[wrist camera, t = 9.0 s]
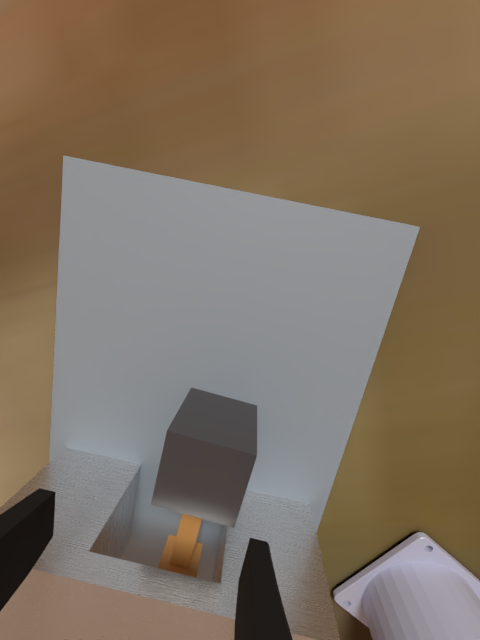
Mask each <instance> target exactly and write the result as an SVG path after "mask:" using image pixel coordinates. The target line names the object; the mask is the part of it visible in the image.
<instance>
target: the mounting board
mask: <svg viewBox="0 0 480 640" xmlns="http://www.w3.org/2000/svg"><path fill="white" fill-rule="evenodd" d="M419 228H420V227H418V226H413V225H408V224H403V223H398V222H393V221H388V220H383V219H378V218H373V217H368V216H363V215H358V214H353V213H348V212H343V211H338V210H333V209H328V208H323V207H318V206H313V205H308V204H303V203H298V202H293V201H288V200H283V199H278V198H273V197H268V196H263V195H258V194H253V193H248V192H243V191H238V190H233V189H228V188H223V187H218V186H213V185H208V184H203V183H198V182H193V181H188V180H183V179H178V178H173V177H168V176H163V175H158V174H153V173H148V172H143V171H138V170H133V169H128V168H123V167H118V166H113V165H108V164H103V163H98V162H93V161H88V160H83V159H78V158H73V157H68V156H64V157H63V179H62V200H61V222H60V243H59V265H58V286H57V307H56V329H55V350H54V372H53V393H52V414H51V436H50V457H49V462H50V461H51V460H53V459H54V458H55V457H56V456H57V455H58V454H59V453H60V452H61V451H62V450H63V449H64V448H66V447H67V448H71V449H76V450H80V451H84V452H89V453H93V454H97V455H101V456H106V457H110V458H114V459H119V460H123V461H127V462H131V463H136V464H140V465H141V466H140V473H139V480H138V488H137V495H136V502H135V509H134V516H133V524H132V531H131V537H130V540H129V542H128V544H127V546H126V548H125V550H124V552H123V554H122V556H121V559H122V560H126V561H130V562H134V563H138V564H142V565H146V566H150V567H155V568H158V566H159V563H160V560H161V557H162V554H163V551H164V548H165V545H166V542H167V539H168V536H169V535H173V536H177V532H178V528H179V524H180V520H181V516H182V513H180V512H176V511H173V510H169V509H165V508H162V507H158V506H155V505H151V501H152V496H153V492H154V487H155V483H156V478H157V474H158V469H159V464H160V460H161V455H162V451H163V446H164V442H165V437H166V433H167V430H168V428H169V426H170V424H171V423H172V421H173V419H174V417H175V415H176V414H177V412H178V410H179V408H180V407H181V405H182V403H183V401H184V400H185V398H186V396H187V394H188V392H189V391H190V389H191V388H195V389H199V390H202V391H206V392H210V393H213V394H217V395H221V396H224V397H228V398H232V399H235V400H239V401H243V402H246V403H250V404H254V405H257V457H256V461H255V464H254V467H253V470H252V473H251V476H250V480H249V483H248V486H247V490H251V491H256V492H260V493H264V494H268V495H273V496H277V497H281V498H286V499H290V500H294V501H298V502H303V503H307V504H310V507H311V511H312V516H313V520H314V525H315V529H316V532H317V529H318V526H319V523H320V520H321V517H322V514H323V511H324V508H325V505H326V502H327V499H328V497H329V494H330V491H331V488H332V485H333V482H334V479H335V476H336V473H337V470H338V467H339V464H340V461H341V458H342V455H343V452H344V449H345V446H346V443H347V441H348V438H349V435H350V432H351V429H352V426H353V423H354V420H355V417H356V414H357V411H358V408H359V405H360V402H361V399H362V396H363V393H364V390H365V387H366V384H367V382H368V379H369V376H370V373H371V370H372V367H373V364H374V361H375V358H376V355H377V352H378V349H379V346H380V343H381V340H382V337H383V334H384V331H385V328H386V325H387V323H388V320H389V317H390V314H391V311H392V308H393V305H394V302H395V299H396V296H397V293H398V290H399V287H400V284H401V281H402V278H403V275H404V272H405V269H406V267H407V264H408V261H409V258H410V255H411V252H412V249H413V246H414V243H415V240H416V237H417V234H418V231H419ZM222 527H223V525H222V524H219V523H215V522H212V521H208V520H204V519H202V521H201V525H200V528H199V532H198V536H197V539H196V542H197V543H201V544H203V547H202V552H201V557H200V562H199V567H198V572H197V577H196V578H199V579H204V580H208V581H212V577H213V570H214V563H215V557H216V553H217V548H218V544H219V540H220V536H221V531H222Z"/></svg>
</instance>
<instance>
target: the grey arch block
mask: <svg viewBox="0 0 480 640" xmlns="http://www.w3.org/2000/svg"><path fill="white" fill-rule="evenodd" d="M140 466H141V465H140V464H136V463H131V462H127V461H123V460H119V459H114V458H110V457H106V456H101V455H97V454H93V453H89V452H84V451H80V450H76V449H71V448H67V447H66V448H64V449H63V450H62V451H61V452H60V453H59V454H58V455H57V456H56V457H55V458H54V459H53V460H51V461H50V462H49V463H48V464H47V465H46V466H45V467H44V468H43V469H42V470H41V471H40V472H39V473H37V474H36V475H35V476H34V477H33V478H32V479H31V480H30V481H29V482H28V483H27V484H26V485H24V486H23V487H22V488H21V489H20V490H19V491H18V492H17V493H16V494H15V495H14V496H13V497H12V498H10V499H9V500H8V501H7V502H6V503H5V504H4V505H3V506H2V507H1V508H0V514H2V513H3V512H5V511H6V510H8V509H9V508H11V507H12V506H14V505H15V504H17V503H18V502H20V501H21V500H22V499H24V498H25V497H27V496H28V495H30V494H31V493H33V492H34V491H36V490H38V489H39V488H41V489H45V490H49V491H53V492H56V494H55V513H54V532H53V537H52V539H51V540H50V542H49V543H48V545H47V547H46V548H45V550H44V551H43V553H42V555H41V556H40V558H39V559H38V561H37V562H36V564H35V565H34V567H33V568H32V570H31V571H30V573H29V574H28V576H27V577H26V578H25V580H24V581H23V582H22V584H21V585H20V586H19V588H18V589H17V590H16V592H15V593H14V594H13V596H12V597H11V598H10V599H9V601H8V602H7V603H6V605H5V606H4V607H3V609H2V610H1V611H0V640H234V632H235V614H236V603H237V592H238V581H239V577H240V573H241V569H242V566H243V562H244V558H245V554H246V551H247V547H248V543H249V540H250V538H254V539H258V540H262V541H266V542H267V543H268V544H269V547H270V553H271V558H272V562H273V567H274V571H275V576H276V580H277V584H278V588H279V592H280V596H281V600H282V604H283V607H284V611H285V615H286V618H287V621H288V625H289V628H290V632H291V635H292V639H293V640H340V637H339V633H338V628H337V624H336V619H335V615H334V610H333V606H332V601H331V597H330V592H329V588H328V583H327V579H326V574H325V570H324V565H323V561H322V556H321V552H320V547H319V543H318V538H317V534H316V529H315V525H314V520H313V516H312V511H311V507H310V504H307V503H303V502H298V501H294V500H290V499H286V498H281V497H277V496H273V495H268V494H264V493H260V492H256V491H251V490H247V489H246V492H245V495H244V498H243V502H242V505H241V508H240V511H239V514H238V517H237V521H236V524H235V527H234V528H233V527H229V526H226V525H223V527H222V531H221V536H220V540H219V544H218V548H217V553H216V557H215V563H214V570H213V577H212V581H208V580H204V579H199V578H195V577H191V576H187V575H183V574H179V573H175V572H171V571H167V570H163V569H159V568H155V567H150V566H146V565H142V564H138V563H134V562H130V561H126V560H122V559H121V556H122V554H123V552H124V550H125V548H126V546H127V544H128V542H129V540H130V537H131V531H132V524H133V516H134V509H135V502H136V495H137V488H138V480H139V473H140Z"/></svg>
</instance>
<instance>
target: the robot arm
mask: <svg viewBox="0 0 480 640" xmlns="http://www.w3.org/2000/svg"><path fill="white" fill-rule="evenodd" d="M55 494H56V492H53V491H49V490H45V489H41V488H39V489H38V490H36V491H34V492H33V493H31V494H30V495H28V496H27V497H25V498H24V499H22V500H21V501H20V502H18V503H17V504H15V505H14V506H12V507H11V508H9V509H8V510H6V511H5V512H3V513H2V514H0V611H1V610H2V609H3V607H4V606H5V605H6V603H7V602H8V601H9V599H10V598H11V597H12V596H13V594H14V593H15V592H16V590H17V589H18V588H19V586H20V585H21V584H22V582H23V581H24V580H25V578H26V577H27V576H28V574H29V573H30V571H31V570H32V568H33V567H34V565H35V564H36V562H37V561H38V559H39V558H40V556H41V555H42V553H43V551H44V550H45V548H46V547H47V545H48V543H49V542H50V540H51V539H52V537H53V532H54V513H55ZM333 595H334V599H335V601H336V602H337V603H338V604H339V605H340V606H342V607H343V608H344V609H345V610H347V611H348V612H349V613H350V614H352V615H353V616H354V617H355V618H357V619H358V620H359V621H360V622H362V623H363V624H364V625H365V626H367V627H368V628H369V630H370V633H371V636H372V639H373V640H480V580H479V579H477V578H476V577H475V576H474V575H473V574H472V573H471V572H469V571H468V570H467V569H466V568H465V567H464V566H462V565H461V564H460V563H459V562H458V561H457V560H455V559H454V558H453V557H452V556H451V555H450V554H448V553H447V552H446V551H445V550H444V549H443V548H441V547H440V546H439V545H438V544H437V543H436V542H434V541H433V540H432V539H431V538H430V537H429V536H428V535H426V534H425V533H422V532H417V533H415V534H413V535H412V536H410V537H409V538H408V539H406V540H405V541H403V542H402V543H400V544H399V545H398V546H396V547H395V548H393V549H392V550H390V551H389V552H387V553H386V554H385V555H383V556H382V557H380V558H379V559H377V560H376V561H375V562H373V563H372V564H370V565H369V566H367V567H366V568H365V569H363V570H362V571H360V572H359V573H357V574H356V575H354V576H353V577H352V578H350V579H349V580H347V581H346V582H344V583H343V584H342V585H340V586H339V587H337V588H336V589H335V590H334V591H333ZM234 640H293V639H292V635H291V632H290V628H289V625H288V621H287V618H286V615H285V611H284V607H283V604H282V600H281V596H280V592H279V588H278V584H277V580H276V576H275V571H274V567H273V562H272V558H271V553H270V547H269V544H268V543H267V542H266V541H262V540H258V539H254V538H250V540H249V543H248V547H247V551H246V554H245V558H244V562H243V566H242V569H241V573H240V577H239V581H238V592H237V603H236V614H235V632H234Z"/></svg>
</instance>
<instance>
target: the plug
mask: <svg viewBox="0 0 480 640" xmlns="http://www.w3.org/2000/svg"><path fill="white" fill-rule="evenodd" d="M256 457H257V405H254V404H250V403H246V402H243V401H239V400H235V399H232V398H228V397H224V396H221V395H217V394H213V393H210V392H206V391H202V390H199V389H195V388H191V389H190V391H189V392H188V394H187V396H186V398H185V400H184V401H183V403H182V405H181V407H180V408H179V410H178V412H177V414H176V415H175V417H174V419H173V421H172V423H171V424H170V426H169V428H168V430H167V433H166V437H165V442H164V446H163V451H162V455H161V460H160V464H159V469H158V474H157V478H156V483H155V487H154V492H153V496H152V501H151V505H155V506H158V507H162V508H165V509H169V510H173V511H176V512H180V513H182V516H181V520H180V524H179V528H178V532H177V536H173V535H169V536H168V539H167V542H166V545H165V548H164V551H163V554H162V557H161V560H160V563H159V566H158V568H159V569H163V570H167V571H171V572H175V573H179V574H183V575H187V576H191V577H195V578H196V577H197V572H198V567H199V562H200V557H201V552H202V547H203V544H201V543H197V542H196V539H197V536H198V532H199V528H200V525H201V521H202V519H204V520H208V521H212V522H215V523H219V524H222V525H226V526H229V527H233V528H234V527H235V524H236V521H237V517H238V514H239V511H240V508H241V505H242V502H243V498H244V495H245V492H246V489H247V486H248V483H249V480H250V476H251V473H252V470H253V467H254V464H255V461H256Z"/></svg>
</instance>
